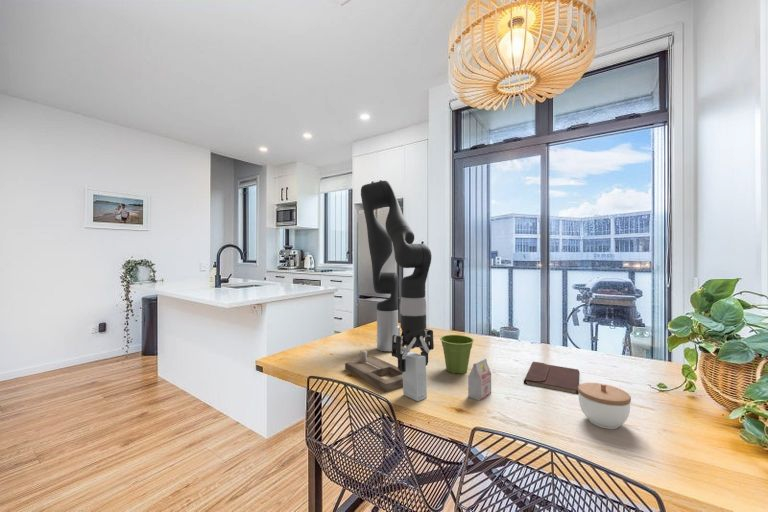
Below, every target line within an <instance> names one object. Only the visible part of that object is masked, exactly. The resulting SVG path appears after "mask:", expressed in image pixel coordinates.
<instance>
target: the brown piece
mask: <svg viewBox="0 0 768 512" xmlns="http://www.w3.org/2000/svg"><path fill="white" fill-rule="evenodd" d="M344 365H345V366H344V368H345V369H344V370H345V371H347V372H349V373H350V374H353V375H354V376H356V377H358V378H359V379H361V380H363V381H364V382H365V383H368V384H370V385H371V386H374V387H376V388H377V389H379V390H380V391H383V392H384V393H390V392H392V391H395V390H397V389H401V388H403V372H401V371H399V369H398V366H396V365H394V364H391V363H389V362H386V361H385V360H382V359H381V358H377V357H375V356H374V355H371V356H368V350H360V358H359V359H354V360H350V361H346V362H345V363H344ZM387 375H390V376H392V377H389V378H386V379H385V378H383V377H384V376H387Z"/></svg>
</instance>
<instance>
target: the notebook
mask: <svg viewBox="0 0 768 512" xmlns="http://www.w3.org/2000/svg"><path fill="white" fill-rule="evenodd" d="M525 381H526V382H525ZM524 383H525V384H526V383H527V384H526V385H530V384H531V385H532V386H534V387H535V386H536V387H540V388H541V387H542V388H546V389H552V390H557V391H562V392H567V393H572V394H577V395H579V392H578V386H579V385H580V370H579V369H578V368H572V367H566V366H565V367H564V366H560V365H553V364H547V363H543V362H539V361H532V363H531V365H530V367H529V369H528V371H527V373H526V376H525V378H524V380H523V384H524ZM531 385H530V386H531Z"/></svg>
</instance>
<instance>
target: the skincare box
mask: <svg viewBox="0 0 768 512" xmlns="http://www.w3.org/2000/svg"><path fill="white" fill-rule="evenodd" d="M405 359H406V371H405V372H403V387H402V393H403V396H405V397H408V398H409V399H412V400H414V401H416V402H419V401H423V400H425V399H427V397H428V395H427V366H426V357H425V356H423V355H421V353H416V352H412V351H410V352H408V353H407V355H406V357H405Z"/></svg>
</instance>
